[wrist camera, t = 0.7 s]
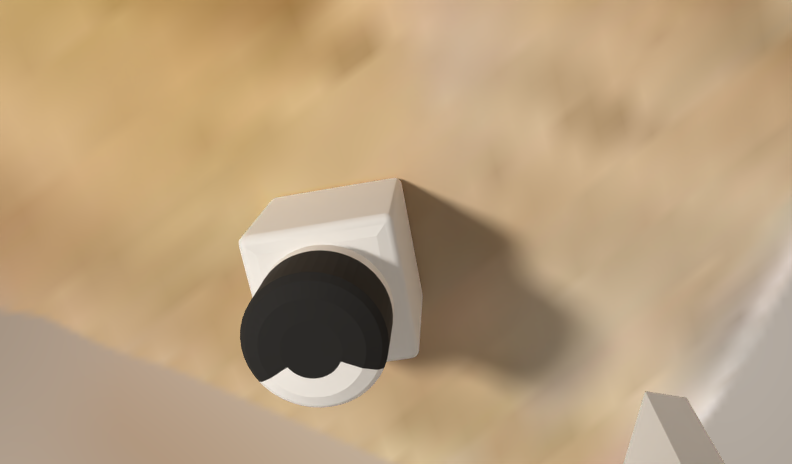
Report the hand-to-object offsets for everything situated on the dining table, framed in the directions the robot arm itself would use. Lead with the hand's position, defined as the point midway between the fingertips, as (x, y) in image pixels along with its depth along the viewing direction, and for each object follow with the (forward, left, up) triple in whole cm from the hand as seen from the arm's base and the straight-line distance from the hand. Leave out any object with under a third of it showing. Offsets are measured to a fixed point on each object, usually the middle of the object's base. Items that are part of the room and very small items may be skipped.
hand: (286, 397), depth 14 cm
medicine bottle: (+6, -3, -26) cm, 27 cm away
